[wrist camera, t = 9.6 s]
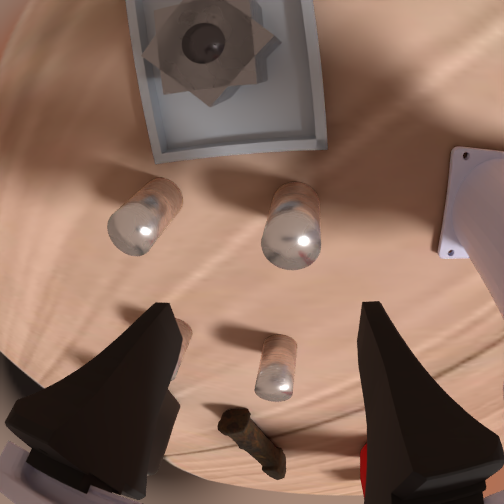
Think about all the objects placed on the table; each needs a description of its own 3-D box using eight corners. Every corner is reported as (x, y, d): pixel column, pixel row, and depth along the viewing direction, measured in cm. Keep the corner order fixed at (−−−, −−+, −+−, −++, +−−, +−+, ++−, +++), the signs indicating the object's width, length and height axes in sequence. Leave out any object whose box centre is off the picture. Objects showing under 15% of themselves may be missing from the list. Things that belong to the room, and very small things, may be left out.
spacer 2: (187, 319, 28) (169, 362, 24) (195, 341, 29) (179, 383, 25) (158, 316, 28) (137, 357, 24) (167, 338, 30) (149, 378, 26)
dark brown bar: (221, 405, 36) (212, 437, 33) (250, 405, 35) (243, 438, 31) (269, 458, 45) (265, 481, 41) (292, 457, 44) (289, 482, 40)
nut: (277, -8, 13) (268, -27, 9) (285, 95, 16) (279, 103, 13) (168, 8, 14) (135, -1, 10) (179, 104, 17) (149, 115, 14)
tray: (300, -63, 11) (299, -72, 9) (326, 143, 18) (327, 149, 16) (133, -27, 13) (121, -31, 11) (164, 157, 20) (155, 164, 18)
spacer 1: (177, 175, 20) (143, 208, 16) (187, 215, 22) (158, 255, 18) (139, 180, 21) (101, 212, 17) (150, 218, 23) (116, 256, 18)
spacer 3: (318, 181, 19) (320, 218, 15) (320, 224, 21) (321, 269, 16) (269, 183, 20) (258, 219, 16) (274, 225, 21) (264, 270, 17)
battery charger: (132, 372, 35) (96, 449, 26) (156, 374, 34) (121, 457, 25) (159, 403, 39) (132, 474, 29) (183, 405, 38) (157, 480, 28)
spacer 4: (296, 334, 27) (291, 382, 22) (297, 356, 28) (292, 402, 24) (261, 334, 27) (252, 381, 23) (265, 355, 29) (256, 400, 25)
